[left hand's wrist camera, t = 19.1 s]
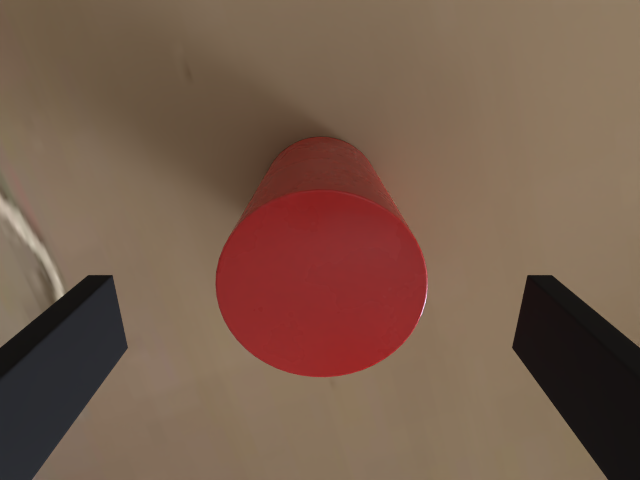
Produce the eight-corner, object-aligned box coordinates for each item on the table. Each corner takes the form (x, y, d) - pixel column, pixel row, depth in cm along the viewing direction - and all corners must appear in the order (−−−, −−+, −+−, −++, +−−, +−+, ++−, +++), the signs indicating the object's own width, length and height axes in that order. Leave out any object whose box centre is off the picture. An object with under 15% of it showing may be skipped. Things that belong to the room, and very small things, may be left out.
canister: (240, 188, 26) (170, 281, 14) (328, 110, 24) (337, 140, 12) (314, 267, 28) (309, 408, 16) (401, 202, 26) (469, 304, 14)
